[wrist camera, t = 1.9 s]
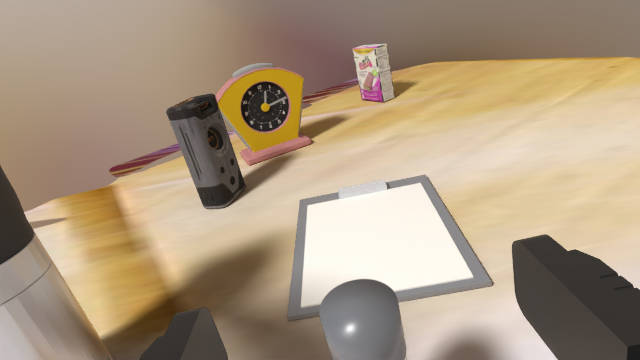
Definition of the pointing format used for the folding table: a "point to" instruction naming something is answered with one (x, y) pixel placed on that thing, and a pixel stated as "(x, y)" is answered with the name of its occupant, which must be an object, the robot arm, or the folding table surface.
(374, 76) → the candy bar box
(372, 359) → the marker
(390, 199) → the clipboard
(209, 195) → the electronic device
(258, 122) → the yellow desk clock
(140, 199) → the folding table surface
